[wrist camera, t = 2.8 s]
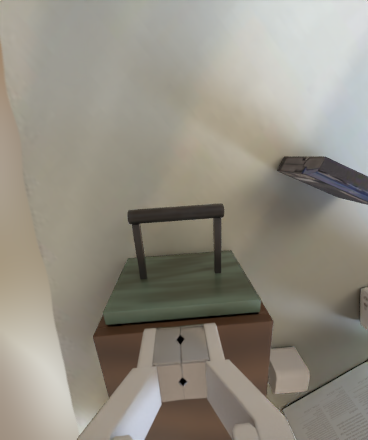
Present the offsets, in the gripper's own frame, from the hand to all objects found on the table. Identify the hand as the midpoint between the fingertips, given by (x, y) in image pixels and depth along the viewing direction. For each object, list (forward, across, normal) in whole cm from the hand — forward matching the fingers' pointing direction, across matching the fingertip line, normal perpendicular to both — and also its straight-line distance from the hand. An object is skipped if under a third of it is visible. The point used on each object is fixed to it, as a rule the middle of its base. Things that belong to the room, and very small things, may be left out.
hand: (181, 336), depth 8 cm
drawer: (+14, 0, +7) cm, 15 cm away
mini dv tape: (+15, -15, -4) cm, 22 cm away
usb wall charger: (+15, -12, +22) cm, 29 cm away
